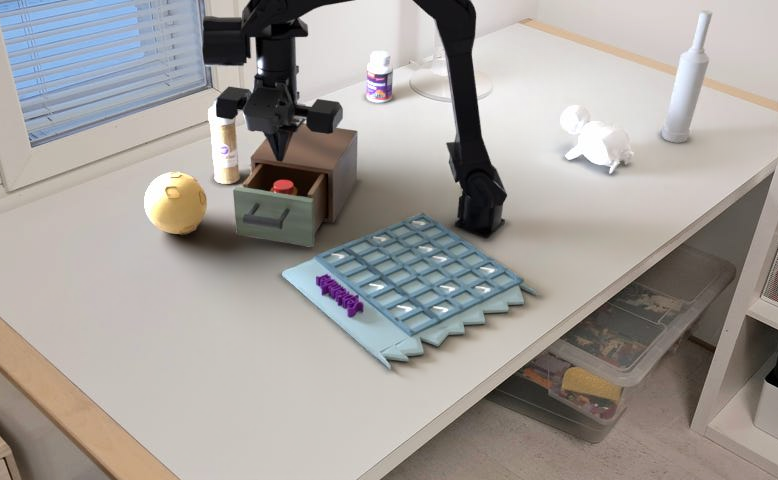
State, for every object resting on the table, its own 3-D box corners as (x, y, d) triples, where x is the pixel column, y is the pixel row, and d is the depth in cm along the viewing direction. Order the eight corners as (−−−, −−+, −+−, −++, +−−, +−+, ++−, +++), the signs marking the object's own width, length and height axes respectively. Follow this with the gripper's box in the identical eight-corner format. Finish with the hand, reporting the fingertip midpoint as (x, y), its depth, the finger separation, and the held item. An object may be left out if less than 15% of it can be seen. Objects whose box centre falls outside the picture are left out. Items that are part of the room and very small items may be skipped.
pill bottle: (362, 100, 185) (363, 56, 179) (372, 90, 189) (373, 47, 183) (386, 105, 183) (387, 60, 177) (395, 95, 187) (397, 51, 181)
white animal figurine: (622, 172, 168) (567, 122, 173) (645, 141, 162) (587, 89, 166) (597, 188, 163) (541, 135, 168) (620, 156, 157) (561, 102, 161)
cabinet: (333, 223, 146) (332, 170, 140) (253, 210, 149) (250, 157, 143) (356, 181, 157) (357, 130, 151) (282, 170, 160) (280, 119, 154)
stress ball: (155, 250, 139) (146, 195, 133) (143, 219, 146) (135, 166, 140) (216, 238, 142) (211, 184, 136) (202, 208, 149) (196, 156, 143)
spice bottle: (291, 208, 146) (289, 174, 142) (303, 221, 143) (302, 187, 139) (266, 215, 144) (264, 181, 140) (278, 228, 141) (276, 194, 137)
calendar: (538, 297, 131) (541, 285, 130) (391, 371, 117) (392, 357, 116) (422, 219, 148) (423, 207, 146) (282, 276, 134) (281, 263, 133)
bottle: (691, 143, 172) (725, 17, 157) (664, 142, 172) (696, 16, 157) (683, 131, 176) (716, 7, 161) (658, 131, 176) (688, 7, 161)
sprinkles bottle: (217, 186, 155) (210, 116, 147) (212, 174, 158) (206, 105, 150) (242, 183, 156) (237, 113, 148) (237, 171, 160) (232, 102, 151)
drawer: (302, 264, 135) (301, 218, 130) (224, 250, 138) (220, 205, 132) (337, 205, 149) (337, 161, 144) (266, 193, 152) (263, 150, 147)
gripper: (193, 77, 122) (203, 175, 132) (320, 95, 119) (321, 194, 128) (224, 48, 131) (232, 142, 140) (344, 64, 127) (343, 160, 137)
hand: (280, 160), depth 136 cm, fingers closed
